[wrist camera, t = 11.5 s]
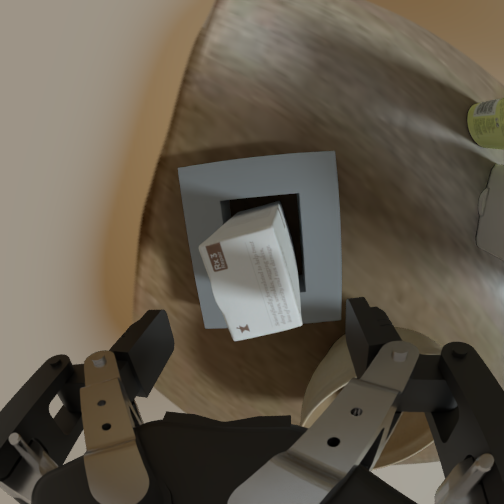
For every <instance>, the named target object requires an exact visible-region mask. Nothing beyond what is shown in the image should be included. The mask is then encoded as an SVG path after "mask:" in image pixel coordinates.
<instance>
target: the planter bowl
mask: <svg viewBox="0 0 504 504" xmlns="http://www.w3.org/2000/svg"><path fill="white" fill-rule="evenodd" d="M394 328H395V329H396V331H397V332H398V334H399V336H400V337H401V339H402V341H406V342H409V343H411V344H413V345H415V346H416V347H417V348H418V350H419V354H424V355H440V354H441V350H442V347H441V346H440V345H439V344H438V343H436V342H435V341H434V340H432V339H430V338H429V337H427V336H425V335H423V334H421V333H418V332H416V331H413V330H409V329H405V328H398V327H394ZM353 377H355V378H357V376H356V373H355V370H354V366H353V363H352V360H351V357H350V353H349V350H348V347H347V343H346V335H343V336H342V337H340V338H339V339H338V340H337V341H336V342H335V343H334V344H333V346H332V347H331V348H330V350H329V351H328V353H327V355H326V356H325V357H324V359H323V360H322V361H321V363H320V364H319V365H318V367H317V368H316V370H315V372H314V374H313V376H312V378H311V380H310V382H309V384H308V387H307V389H306V392H305V395H304V400H303V404H302V411H301V422H300V425H299V426H303V427H306V428H310V427H311V426H312V424H313V423H314V422H315V421H316V420H317V419H318V418H319V417H320V416H321V414H322V413H323V412H324V411H325V410H326V409H327V408H328V406H329V405H330V404H331V403H332V402H333V400H334V399H335V398H336V397H337V396H338V394H339V393H340V392H341V391H342V389H343V388H344V387H345V386H346V384H347V383H348V382H349V381H350V380H351V379H352V378H353ZM433 442H434V439H433V436H432V433H431V431H430V428H429V425H428V422H427V419H426V416H425V413H424V412H403V414H402V416H401V418H400V420H399V422H398V423H397V425H396V427H395V429H394V431H393V433H392V434H391V436H390V438H389V440H388V442H387V443H386V445H385V447H384V449H383V450H382V452H381V455H380V457H379V459H378V460H377V462H376V464H375V466H374V467H373V469H372V470H376V469H380V468H384V467H387V466H390V465H393V464H395V463H398V462H401V461H403V460H405V459H407V458H409V457H411V456H413V455H415V454H416V453H418V452H420V451H421V450H423V449H424V448H426V447H427V446H429V445H430V444H431V443H433Z"/></svg>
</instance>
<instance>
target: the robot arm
mask: <svg viewBox="0 0 504 504" xmlns="http://www.w3.org/2000/svg"><path fill="white" fill-rule="evenodd" d="M345 335H346V343H347V347H348V350H349V353H350V357H351V360H352V363H353V366H354V370H355V373H356V376H357V378H355V377H353V378H352V379H351V380H350V381H349V382H348V383H347V384H346V386H345V387H344V388H343V389H342V391H341V392H340V393H339V394H338V396H337V397H336V398H335V399H334V400H333V402H332V403H331V404H330V405H329V406H328V408H327V409H326V410H325V411H324V412H323V413H322V414H321V416H320V417H319V418H318V419H317V420H316V421H315V422H314V423H313V424H312V426H311V427H310V428H306V427H303V426H298V425H293V424H291V415H288V416H258V417H252V418H247V419H241V420H235V421H228V422H221V421H217V420H213V419H210V418H206V417H202V416H199V415H195V414H186V413H176V412H166V414H165V416H164V418H163V420H157V421H151V422H147V423H145V424H144V423H143V420H142V418H141V415H140V412H139V409H138V407H137V404H136V402H135V400H134V398H135V397H136V396H139V397H146V398H147V397H148V395H149V393H150V392H151V390H152V388H153V386H154V384H155V383H156V381H157V379H158V377H159V375H160V374H161V372H162V370H163V368H164V367H165V365H166V363H167V361H168V359H169V358H170V356H171V354H172V352H173V350H174V338H173V334H172V331H171V327H170V323H169V320H168V316H167V313H166V311H165V310H148V311H147V312H146V313H145V314H144V316H143V317H142V318H141V319H140V320H138V321H137V322H135V323H134V324H132V325H131V326H130V327H129V328H128V329H127V330H126V332H125V333H124V334H123V335H122V336H121V337H120V338H119V339H118V341H117V342H116V343H115V344H114V345H113V346H112V347H111V349H110V350H109V351H107V350H104V351H98V352H95V353H93V354H91V355H90V356H88V357H87V358H86V360H85V361H84V364H78V365H72V363H71V361H70V359H69V357H68V356H67V355H56V356H53V357H51V358H49V359H48V360H47V361H46V362H45V363H44V364H43V365H42V366H41V367H40V368H39V369H38V370H37V371H36V372H35V373H34V374H33V375H32V377H31V378H30V379H29V380H28V381H27V382H26V383H25V384H24V385H23V386H22V388H21V389H20V390H19V391H18V392H17V393H16V394H15V395H14V397H13V398H12V399H11V400H10V401H9V402H8V403H7V405H6V406H5V407H4V408H3V409H2V411H1V412H0V487H1V488H2V489H3V490H4V491H5V492H6V493H7V494H8V495H10V496H12V497H13V498H14V499H15V500H17V501H18V502H19V503H20V504H417V503H416V502H414V501H413V500H411V499H409V498H408V497H406V496H405V495H403V494H402V493H400V492H399V491H397V490H396V489H394V488H393V487H391V486H390V485H388V484H387V483H386V482H384V481H383V480H381V479H380V478H379V477H377V476H376V475H374V474H373V473H372V472H371V471H372V469H373V467H374V466H375V464H376V462H377V460H378V459H379V457H380V455H381V452H382V450H383V449H384V447H385V445H386V443H387V442H388V440H389V438H390V436H391V434H392V433H393V431H394V429H395V427H396V425H397V423H398V422H399V420H400V418H401V416H402V414H403V412H424V413H425V416H426V419H427V422H428V425H429V428H430V431H431V433H432V436H433V439H434V443H435V446H436V449H437V452H438V455H439V459H440V462H441V465H442V469H443V472H444V476H445V480H444V481H443V483H442V484H441V485H440V486H439V488H438V489H437V491H436V494H435V504H504V391H503V389H502V388H501V386H500V385H499V383H498V382H497V380H496V379H495V377H494V376H493V374H492V373H491V371H490V370H489V368H488V367H487V366H486V364H485V363H484V361H483V360H482V359H481V357H480V356H479V354H478V353H477V352H476V350H475V349H474V348H473V347H472V346H470V345H469V344H466V343H463V342H451V343H448V344H446V345H445V346H444V347H443V348H442V350H441V354H440V355H424V354H419V350H418V348H417V347H416V346H415V345H413V344H411V343H409V342H406V341H402V339H401V337H400V336H399V334H398V332H397V331H396V329H395V328H394V326H393V325H392V323H391V321H390V320H389V318H388V316H387V315H386V313H385V312H384V311H383V310H381V309H379V308H378V307H371V308H370V306H369V304H368V303H367V301H366V299H365V298H364V297H359V298H350V299H347V301H346V328H345ZM56 394H58V396H59V398H60V399H61V401H62V403H63V404H64V405H63V406H62V408H61V409H60V410H59V412H58V413H57V415H56V416H55V417H54V419H53V418H52V416H51V415H50V413H49V404H50V402H51V401H52V400H53V398H54V397H55V395H56ZM83 429H84V436H85V443H86V449H87V451H86V453H85V454H84V455H83V456H81V457H79V458H77V459H74V460H72V461H70V462H68V463H66V464H64V465H63V463H64V461H65V460H66V458H67V456H68V454H69V453H70V451H71V449H72V447H73V446H74V444H75V442H76V441H77V439H78V437H79V436H80V434H81V432H82V431H83Z"/></svg>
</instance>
